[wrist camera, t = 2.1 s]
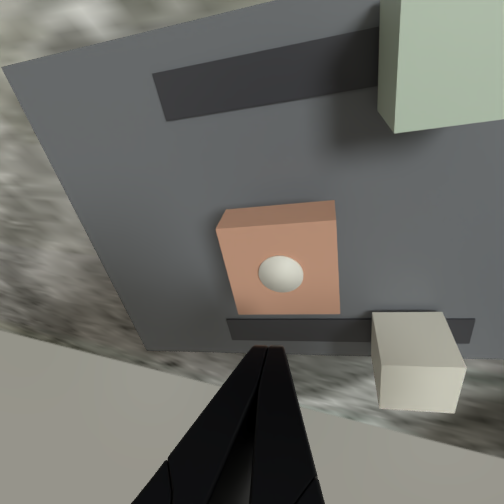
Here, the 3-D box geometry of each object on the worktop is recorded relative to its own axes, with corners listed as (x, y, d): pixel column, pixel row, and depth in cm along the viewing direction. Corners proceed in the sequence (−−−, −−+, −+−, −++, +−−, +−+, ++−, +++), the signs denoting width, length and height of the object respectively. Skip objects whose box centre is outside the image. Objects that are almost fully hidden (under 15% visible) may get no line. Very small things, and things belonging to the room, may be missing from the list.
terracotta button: (334, 199, 11) (336, 221, 10) (338, 288, 13) (340, 315, 12) (225, 209, 12) (214, 230, 11) (245, 290, 14) (238, 316, 13)
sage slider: (504, -33, 8) (580, -59, 6) (481, 95, 10) (534, 115, 7) (380, -4, 9) (402, -18, 7) (377, 110, 11) (394, 133, 8)
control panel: (615, -75, 9) (683, -100, 7) (492, 329, 17) (511, 361, 16) (38, 63, 14) (-1, 67, 12) (159, 327, 22) (146, 351, 21)
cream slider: (442, 311, 15) (466, 367, 12) (434, 355, 16) (454, 413, 14) (372, 312, 15) (381, 364, 13) (371, 354, 17) (379, 408, 14)
